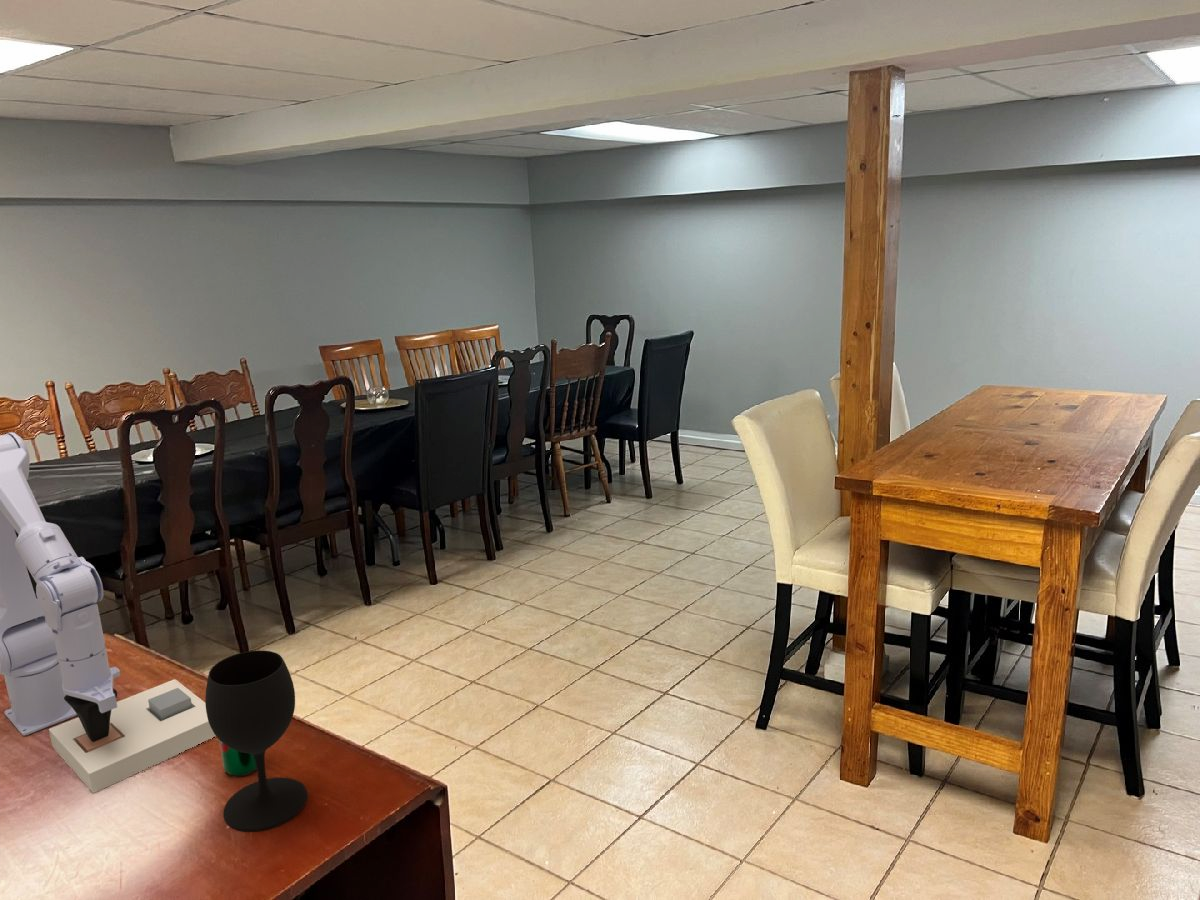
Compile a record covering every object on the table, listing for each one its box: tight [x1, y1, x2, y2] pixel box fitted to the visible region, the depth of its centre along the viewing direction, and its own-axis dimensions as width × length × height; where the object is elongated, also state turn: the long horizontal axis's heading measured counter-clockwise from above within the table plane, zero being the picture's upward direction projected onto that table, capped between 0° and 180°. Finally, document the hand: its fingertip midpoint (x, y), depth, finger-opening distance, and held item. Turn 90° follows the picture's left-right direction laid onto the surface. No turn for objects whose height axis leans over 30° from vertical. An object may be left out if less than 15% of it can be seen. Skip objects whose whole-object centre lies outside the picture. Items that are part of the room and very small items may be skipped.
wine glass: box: [204, 649, 308, 833], centre depth 111 cm, size 10×10×20 cm
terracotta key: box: [77, 725, 122, 753], centre depth 124 cm, size 4×4×2 cm
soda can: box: [218, 739, 257, 777], centre depth 120 cm, size 5×5×12 cm
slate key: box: [148, 688, 192, 721], centre depth 131 cm, size 4×4×2 cm
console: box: [48, 678, 216, 794], centre depth 128 cm, size 16×18×3 cm
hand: (99, 737), depth 124 cm, fingers closed, pressing on terracotta key
